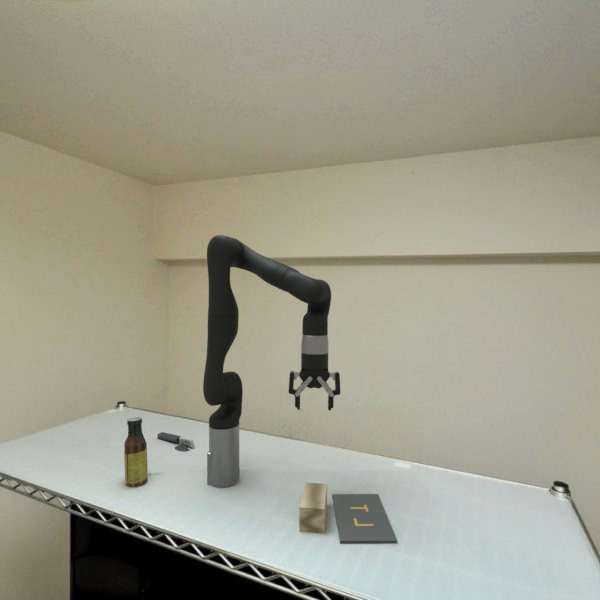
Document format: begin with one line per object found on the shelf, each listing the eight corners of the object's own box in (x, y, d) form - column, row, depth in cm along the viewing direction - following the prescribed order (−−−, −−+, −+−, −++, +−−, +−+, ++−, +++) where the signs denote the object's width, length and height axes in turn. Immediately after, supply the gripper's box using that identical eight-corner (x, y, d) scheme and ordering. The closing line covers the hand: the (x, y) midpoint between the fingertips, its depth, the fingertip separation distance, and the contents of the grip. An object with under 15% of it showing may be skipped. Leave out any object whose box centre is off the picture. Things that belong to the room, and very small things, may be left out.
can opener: (198, 452, 133) (198, 438, 133) (184, 458, 128) (184, 444, 128) (165, 441, 143) (165, 428, 144) (151, 446, 138) (151, 433, 138)
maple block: (299, 532, 87) (299, 507, 87) (304, 504, 98) (304, 482, 98) (324, 534, 86) (324, 509, 86) (327, 506, 98) (326, 483, 98)
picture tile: (340, 543, 82) (340, 540, 82) (332, 496, 102) (332, 494, 102) (397, 543, 82) (397, 540, 82) (378, 496, 102) (378, 493, 102)
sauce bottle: (152, 482, 110) (152, 417, 111) (135, 492, 105) (135, 423, 105) (136, 478, 113) (136, 414, 113) (119, 487, 108) (119, 420, 108)
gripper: (288, 352, 97) (287, 413, 97) (341, 353, 96) (341, 414, 96) (289, 348, 104) (289, 405, 104) (339, 349, 104) (338, 405, 104)
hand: (314, 409), depth 100 cm, fingers open, 8 cm apart
